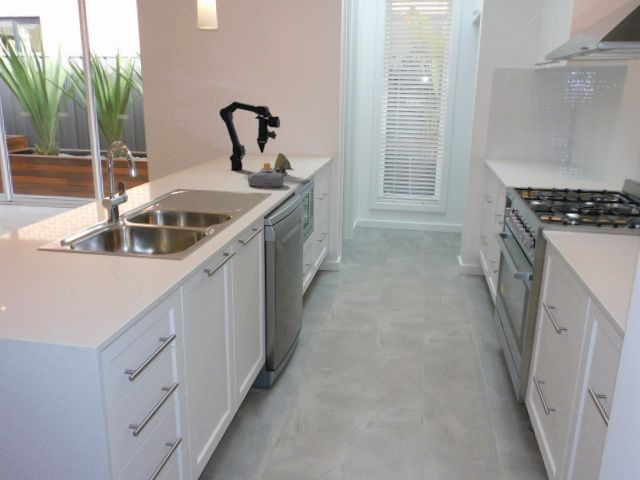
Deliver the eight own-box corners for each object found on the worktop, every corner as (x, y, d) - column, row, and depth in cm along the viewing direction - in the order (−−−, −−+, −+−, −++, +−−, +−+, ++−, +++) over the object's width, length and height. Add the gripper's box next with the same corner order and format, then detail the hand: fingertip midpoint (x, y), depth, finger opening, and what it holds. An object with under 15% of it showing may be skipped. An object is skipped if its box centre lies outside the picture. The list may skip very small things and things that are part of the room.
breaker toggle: (277, 170, 342) (284, 160, 338) (280, 169, 344) (287, 160, 341) (279, 172, 342) (286, 162, 338) (282, 171, 344) (289, 161, 340)
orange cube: (263, 171, 341) (263, 163, 339) (263, 170, 344) (263, 162, 343) (270, 171, 341) (270, 163, 340) (270, 170, 345) (270, 162, 343)
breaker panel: (260, 175, 339) (260, 168, 338) (260, 171, 355) (260, 164, 354) (285, 175, 340) (286, 169, 339) (285, 171, 357) (285, 165, 356)
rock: (294, 164, 373) (281, 161, 376) (292, 155, 366) (279, 151, 369) (287, 175, 367) (274, 172, 371) (285, 166, 360) (271, 163, 364)
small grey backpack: (285, 184, 314) (249, 182, 315) (285, 169, 311) (249, 168, 313) (281, 189, 299) (244, 187, 300) (281, 173, 297) (244, 172, 298)
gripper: (275, 128, 337) (274, 154, 341) (276, 126, 354) (275, 150, 359) (257, 127, 336) (256, 153, 340) (258, 125, 354) (258, 149, 358)
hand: (262, 152), depth 349 cm, fingers open, 9 cm apart
